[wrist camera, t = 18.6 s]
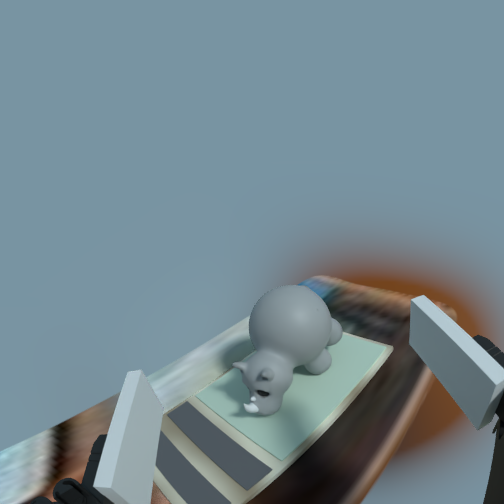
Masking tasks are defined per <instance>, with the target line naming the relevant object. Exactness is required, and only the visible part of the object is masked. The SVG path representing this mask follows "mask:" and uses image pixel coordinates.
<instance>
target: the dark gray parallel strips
mask: <svg viewBox="0 0 504 504" xmlns="http://www.w3.org/2000/svg"><path fill="white" fill-rule="evenodd" d="M167 415H168V417H169V418H170V419H171V420H172V421H173V422H174V423H175V424H176V425H177V426H178V427H179V428H180V429H181V430H182V431H183V432H184V433H185V434H186V435H187V436H188V437H189V438H190V439H191V440H192V441H193V442H194V443H195V444H196V445H197V446H198V447H199V448H200V449H201V450H202V451H203V452H204V453H205V454H206V455H207V456H208V457H209V458H210V459H211V460H212V461H213V462H215V463H216V464H217V465H218V466H219V467H220V468H221V469H222V470H223V471H225V472H226V473H227V474H228V475H229V476H230V477H231V478H233V479H234V480H235V481H236V482H237V483H238V484H240V485H241V486H242V487H243V488H244V489H246V490H247V491H248V490H249V489H251V488H252V487H253V486H254V485H256V484H257V483H258V482H259V481H260V480H262V479H263V478H264V477H265V476H266V475H268V474H269V473H270V472H271V471H272V469H271V468H270V467H269V466H267V465H266V464H264V463H263V462H262V461H260V460H259V459H257V458H256V457H255V456H253V455H252V454H251V453H249V452H248V451H247V450H245V449H244V448H243V447H242V446H240V445H239V444H238V443H236V442H235V441H234V440H233V439H231V438H230V437H229V436H228V435H226V434H225V433H224V432H223V431H221V430H220V429H219V428H218V427H217V426H215V425H214V424H213V423H212V422H211V421H210V420H208V419H207V418H206V417H205V416H204V415H203V414H201V413H200V412H199V411H198V410H197V409H196V408H195V407H193V406H192V405H191V404H190V403H189V402H188V401H186V402H185V403H183V404H182V405H180V406H179V407H177V408H176V409H174V410H173V411H171V412H170V413H168V414H167ZM155 465H156V467H157V468H158V469H159V470H160V472H161V473H162V474H163V476H164V477H165V478H166V479H167V481H168V482H169V483H170V484H171V485H172V487H173V488H174V489H175V490H176V491H177V493H178V494H179V495H180V496H181V497H182V498H183V500H184V501H185V502H186V503H187V504H231V502H230V501H229V500H228V499H227V498H226V497H225V496H223V495H222V494H221V493H220V492H219V491H218V490H217V489H216V488H215V487H214V486H213V485H212V484H211V483H210V482H209V481H208V480H207V479H206V478H205V477H204V476H203V475H202V474H201V473H200V472H199V471H198V470H197V469H196V468H195V467H194V466H193V465H192V464H191V463H190V462H189V461H188V460H187V459H186V458H185V457H184V456H183V454H182V453H181V452H180V451H179V450H178V449H177V448H176V447H175V446H174V445H173V443H172V442H171V441H170V440H169V439H168V438H167V437H166V435H165V434H164V433H163V432H162V431H161V430H160V436H159V442H158V449H157V456H156V463H155Z"/></svg>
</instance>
